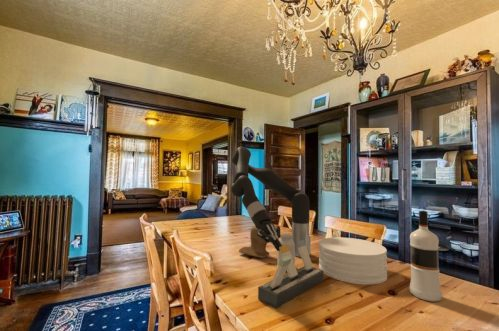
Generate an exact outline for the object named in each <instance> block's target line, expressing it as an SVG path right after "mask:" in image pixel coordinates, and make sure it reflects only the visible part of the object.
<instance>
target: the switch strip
mask: <svg viewBox="0 0 499 331" xmlns="http://www.w3.org/2000/svg"><path fill="white" fill-rule="evenodd" d="M296 270H297V273H298V276H297V277H295V278H293V279H291V280H290V279H289V276H288V273H285V275H284V277H283V279H282V282H281V284H280V285H279V286H277V287H275V288H272V289H270V285H271V282H272V280H271V281H268V282H266V283H264V284H262V285H259V286H257V299H258V300H259V301H260V302H263V303H265V304H267V305H268V306H271V307H272V308H274V309H278V308H280V307H282V306H284V305H285V304H287V303H288V302H290V301H293V299H296V298H297V297H299V296H301V295H302V294H304V293H306V292H307V291H309V290H310V289H312V288H314V287H316V286H318V285H319V284H321V283H323V282H324V281H325V278H324V275H325V274H324V271H323V270H320V269H319V268H316V267H314V266H313V269H311V270H309V271H306V270H305V267H304V266H301V267H300V268H296Z"/></svg>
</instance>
